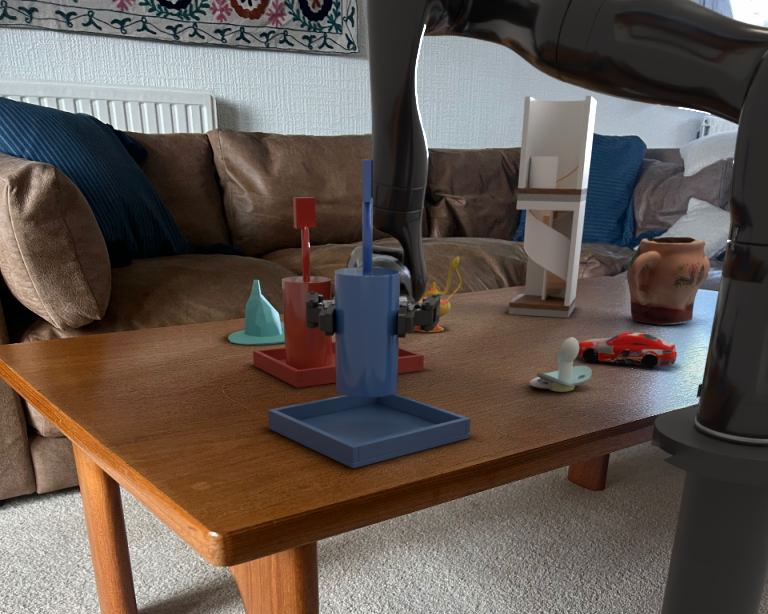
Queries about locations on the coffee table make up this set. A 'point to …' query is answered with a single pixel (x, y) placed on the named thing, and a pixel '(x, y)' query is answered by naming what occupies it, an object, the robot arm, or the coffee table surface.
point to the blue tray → (368, 427)
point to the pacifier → (564, 370)
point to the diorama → (259, 322)
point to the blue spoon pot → (367, 317)
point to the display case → (553, 201)
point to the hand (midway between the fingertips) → (365, 325)
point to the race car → (629, 350)
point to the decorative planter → (666, 279)
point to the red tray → (276, 366)
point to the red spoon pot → (304, 301)
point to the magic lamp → (433, 291)
